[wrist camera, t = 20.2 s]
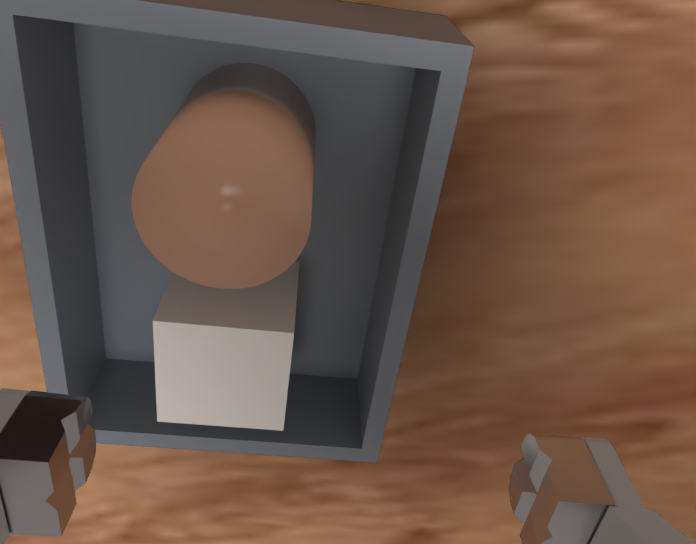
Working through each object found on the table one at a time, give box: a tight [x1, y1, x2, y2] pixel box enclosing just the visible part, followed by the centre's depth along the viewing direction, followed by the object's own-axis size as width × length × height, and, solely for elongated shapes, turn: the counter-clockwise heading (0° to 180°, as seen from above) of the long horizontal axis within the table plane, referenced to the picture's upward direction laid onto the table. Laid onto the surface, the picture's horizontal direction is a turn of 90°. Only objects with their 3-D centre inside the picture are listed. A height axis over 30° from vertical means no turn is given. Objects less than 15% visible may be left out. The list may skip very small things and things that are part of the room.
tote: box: [0, 0, 475, 463], centre depth 23 cm, size 18×14×5 cm
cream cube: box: [153, 261, 299, 431], centre depth 25 cm, size 5×5×5 cm
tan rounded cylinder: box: [132, 63, 316, 289], centre depth 20 cm, size 5×5×7 cm
